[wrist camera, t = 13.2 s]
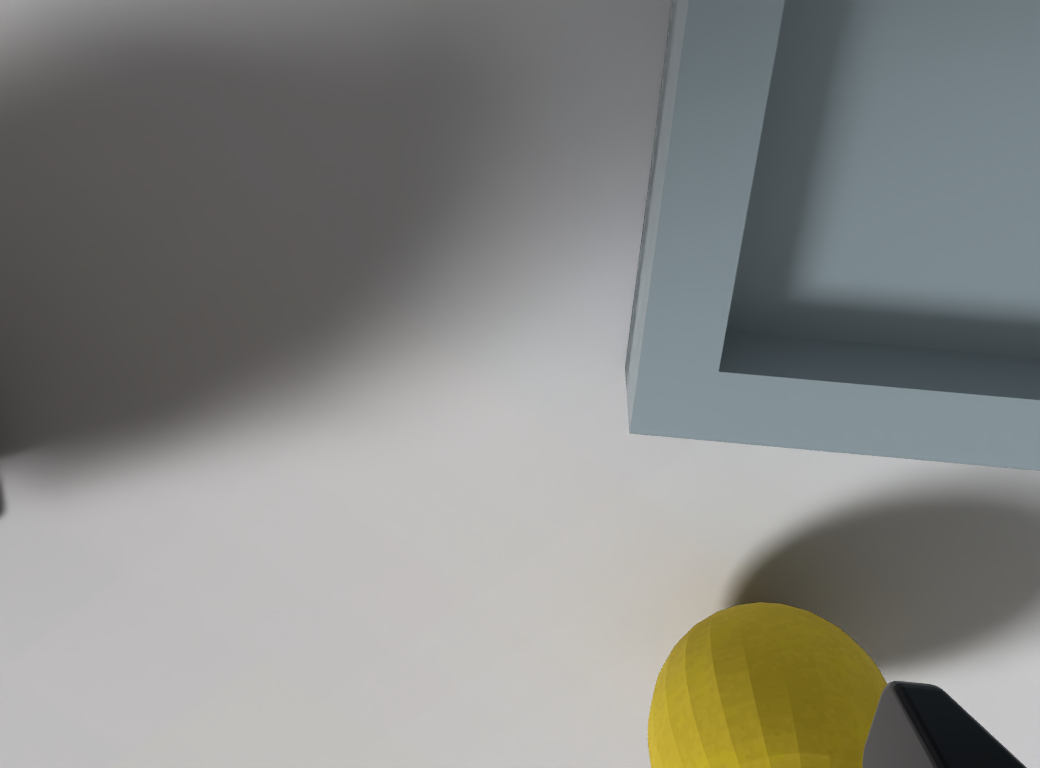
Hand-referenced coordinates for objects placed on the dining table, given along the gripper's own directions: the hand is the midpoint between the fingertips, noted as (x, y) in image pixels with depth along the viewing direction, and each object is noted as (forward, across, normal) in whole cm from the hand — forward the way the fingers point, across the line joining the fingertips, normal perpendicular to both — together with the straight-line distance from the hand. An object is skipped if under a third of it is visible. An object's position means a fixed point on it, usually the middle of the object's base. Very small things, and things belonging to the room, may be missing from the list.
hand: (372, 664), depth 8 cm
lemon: (+13, -7, +10) cm, 18 cm away
